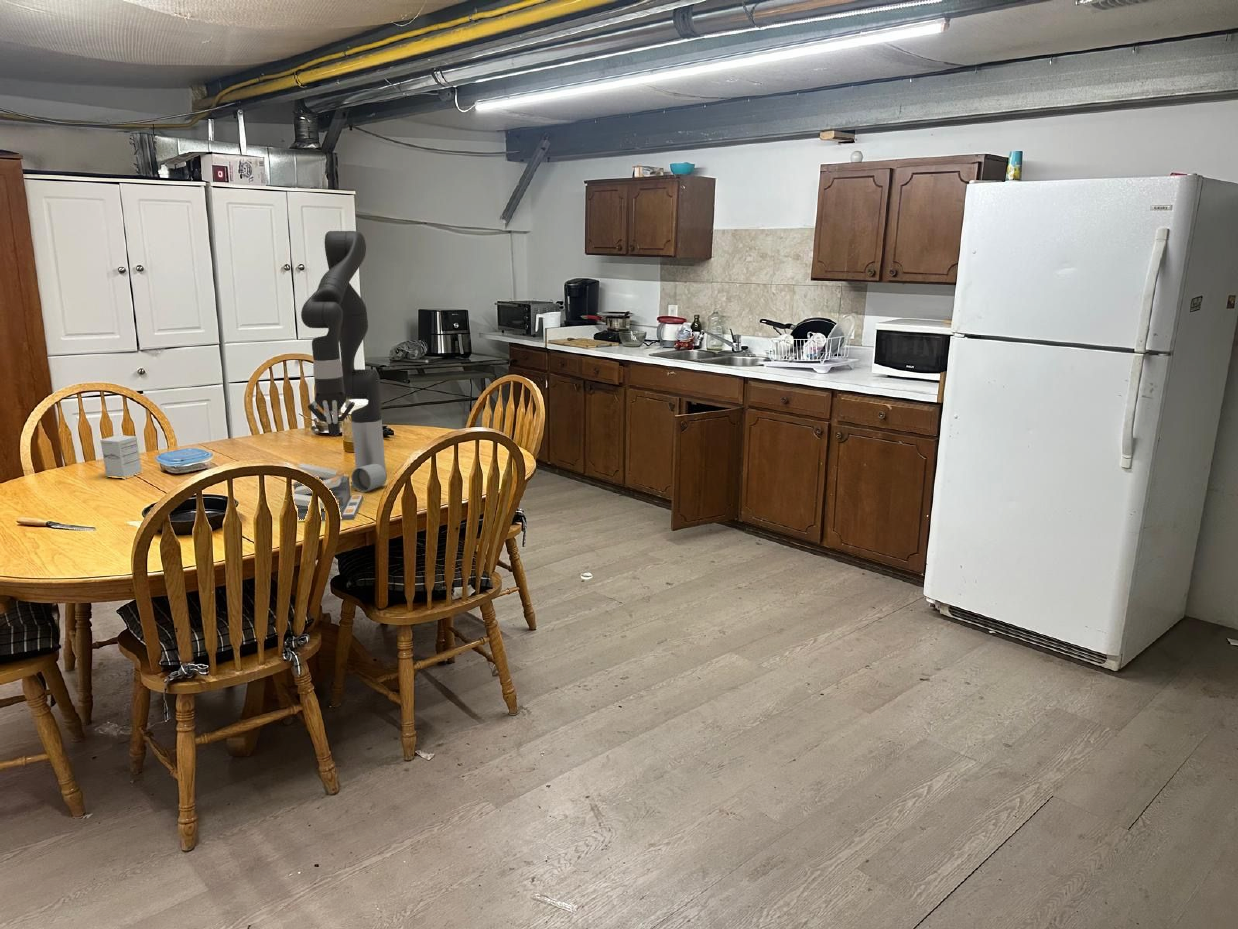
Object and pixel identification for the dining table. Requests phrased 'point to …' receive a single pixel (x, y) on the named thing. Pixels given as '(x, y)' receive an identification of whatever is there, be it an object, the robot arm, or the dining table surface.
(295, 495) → the block
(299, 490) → the middle rocker
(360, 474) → the ceramic mug
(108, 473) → the supplement box
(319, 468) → the rear rocker
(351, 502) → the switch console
